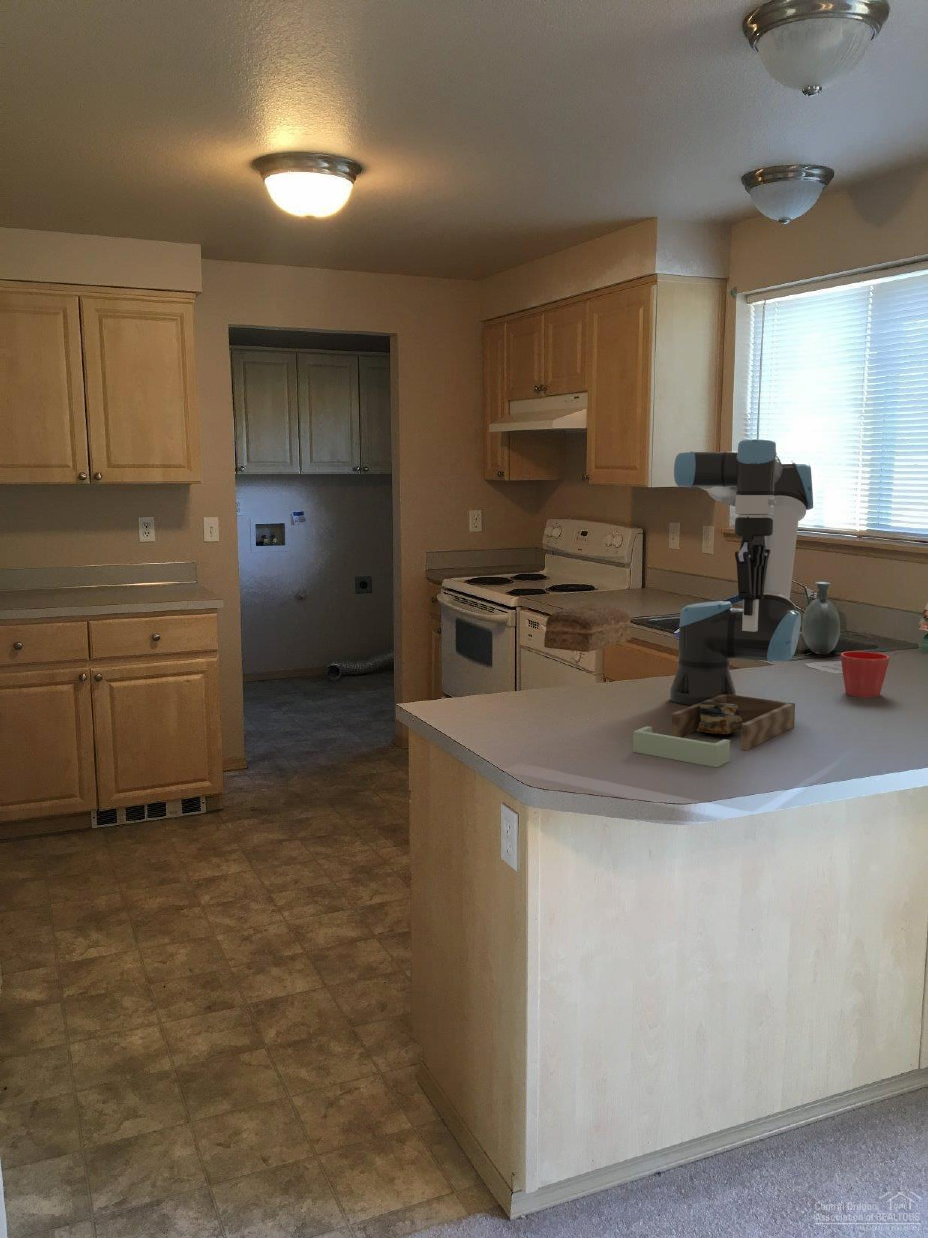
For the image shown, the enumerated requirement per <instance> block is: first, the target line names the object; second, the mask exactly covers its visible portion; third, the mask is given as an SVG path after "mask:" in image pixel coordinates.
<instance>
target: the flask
mask: <svg viewBox="0 0 928 1238" xmlns="http://www.w3.org/2000/svg"><path fill="white" fill-rule="evenodd" d="M814 585H816V586H817V598H815V599H814V600H813V601H812V602H810V603H809V604H808V606H807V607H806V608H805V611H804V612H803V616H802V619H801V630H802V631H801V633H802V637H803V640H804V642H805V644H806V646H807V647H808V649H809V650H810V651H811V652H812V653H814V654H817V655H823V656H824V655H825V656H826V655H829V654H831V652H832V651H833V650H834V649H835V648H836V646H837V644H838V641H839V638H840V632H841V621H840V619H841V618H840V615H839V612H838V610H837V608H836V606H835V605H834V604H833V603H832V602H831V601H829V600H828V597H827V596H828V590H829V586H831V585H832V583H830V582H827V581H816V582H815V583H814Z"/></svg>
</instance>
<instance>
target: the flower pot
mask: <svg viewBox="0 0 928 1238" xmlns="http://www.w3.org/2000/svg"><path fill="white" fill-rule="evenodd" d="M840 661H841V668H842V677H843V683H844V688H845V690H844V691H845V693H846V694H847V695H849V696H853V697H858V698H876V697H879V696H880V694H881V692H882V688H883V684H884V682H885V677H886V673H887V670H888V666H889V661H890V656H889V655H886V654H883V653H879V652H871V651H861V650H859V651H857V650H856V651H855V650H853V651H844V652H842V653H840Z"/></svg>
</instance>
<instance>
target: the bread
mask: <svg viewBox="0 0 928 1238" xmlns="http://www.w3.org/2000/svg"><path fill="white" fill-rule="evenodd" d="M630 623H631V617H630V615H629V613H628V612H627V611H626V610H625V609H624V608H622V607H620V606H618V605H617V606H616V605H612V604H602V603H595V602H593V603H589V604H585V605H580V606H576V607H571V608H566V609H562V610H559V611H556V612H554V613H552V614H551V615H550V616H548V617H547V619H546V622H545V627H546V628H545V633H544V639H543V641H544V642H543V643H544V644H543V646H544V648H548V649H555V650H556V649H557V650H564V651H573V652H574V651H575V652H581V653H582V652H583V653H585V652H587V653H589V652H593V651H596V650H600V649H603V648H607V647H610V646H613V645H617V644H621V643H624V642H627V641H629V640H631V639H632V627H631V625H630Z"/></svg>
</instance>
